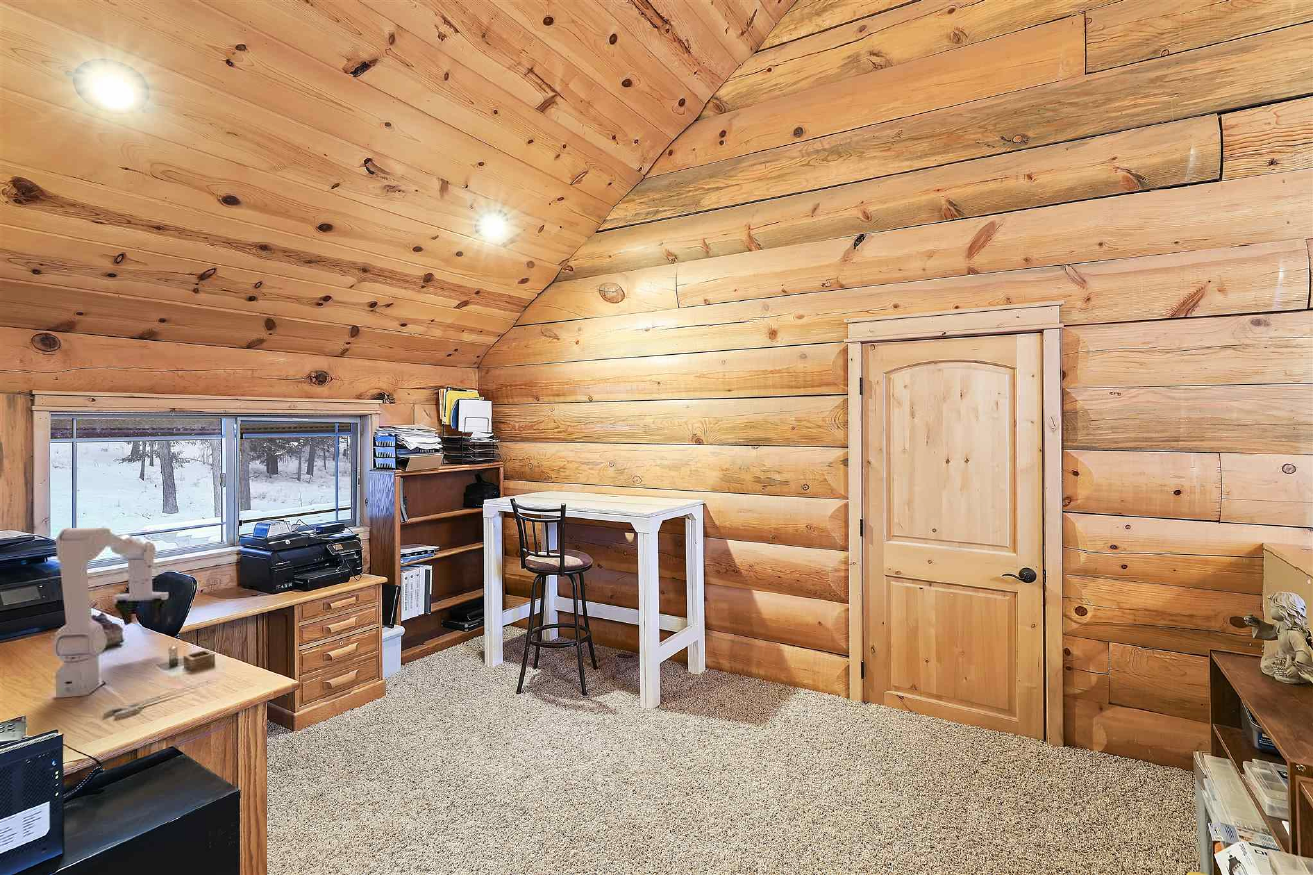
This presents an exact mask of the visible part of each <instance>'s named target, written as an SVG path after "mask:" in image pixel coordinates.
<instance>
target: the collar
mask: <svg viewBox="0 0 1313 875" xmlns="http://www.w3.org/2000/svg"><path fill="white" fill-rule="evenodd" d="M182 658H184V667H185V668H186V669H188V670H190V671H191V672H195V670H196V671H199V669H200V670H202V669H207V668H209V667H210V666H211V667H214V666H216V665H215V662H216V654H215V653H214V652H212V651H210V650H209V649H204V650H201V651H200V650H199V651H196V652H192V653H188V654H184V655H183V657H182ZM206 667H207V668H206ZM191 672H190V673H191Z"/></svg>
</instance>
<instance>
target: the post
mask: <svg viewBox="0 0 1313 875" xmlns="http://www.w3.org/2000/svg"><path fill="white" fill-rule="evenodd" d="M183 665H184V657H181V658H179V646H177V645H175V646H170V647H168V661H165V662H161V663H157V664H155V666H158V667H159V668H161V669H162V670H167V669H171V668H175V667H179V666H183Z"/></svg>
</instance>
